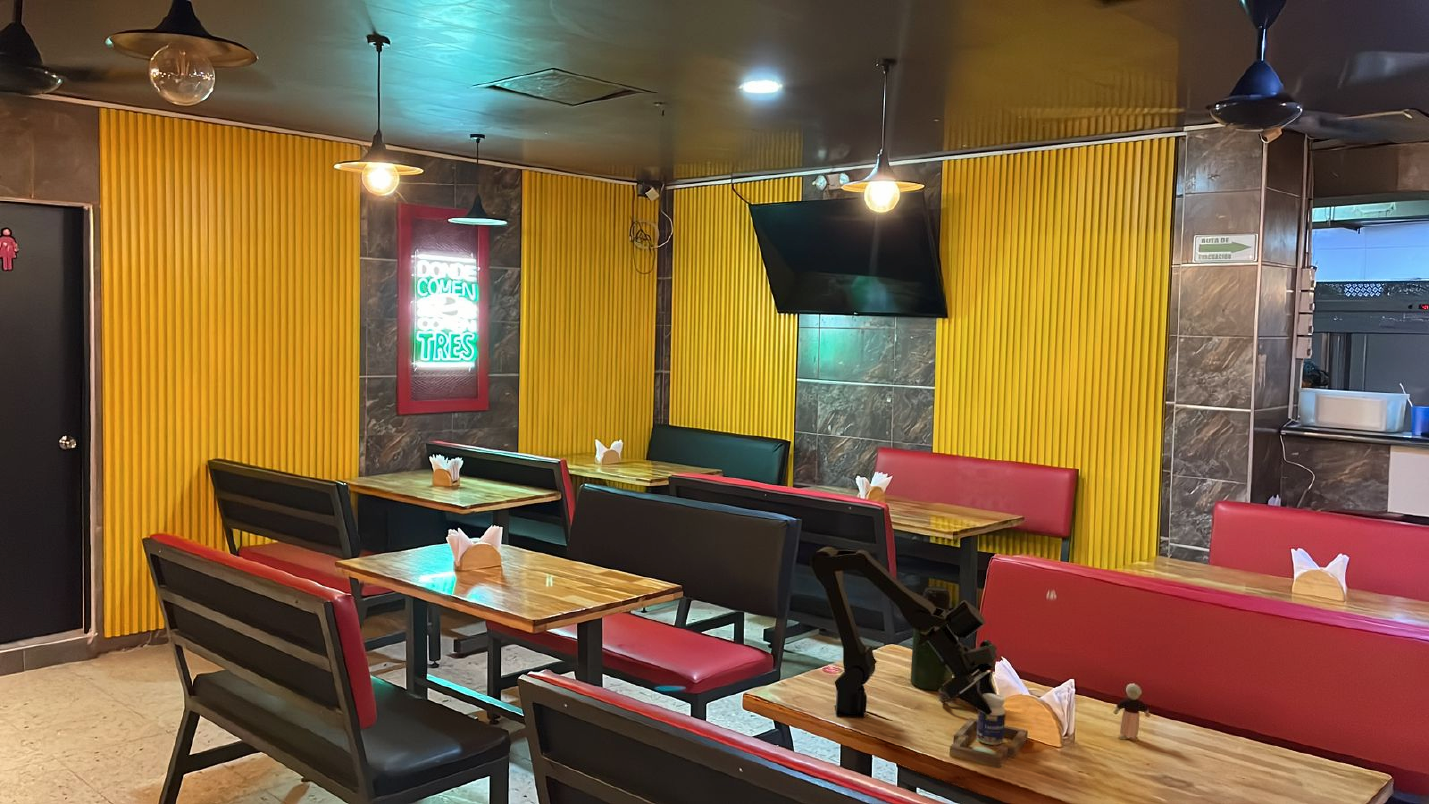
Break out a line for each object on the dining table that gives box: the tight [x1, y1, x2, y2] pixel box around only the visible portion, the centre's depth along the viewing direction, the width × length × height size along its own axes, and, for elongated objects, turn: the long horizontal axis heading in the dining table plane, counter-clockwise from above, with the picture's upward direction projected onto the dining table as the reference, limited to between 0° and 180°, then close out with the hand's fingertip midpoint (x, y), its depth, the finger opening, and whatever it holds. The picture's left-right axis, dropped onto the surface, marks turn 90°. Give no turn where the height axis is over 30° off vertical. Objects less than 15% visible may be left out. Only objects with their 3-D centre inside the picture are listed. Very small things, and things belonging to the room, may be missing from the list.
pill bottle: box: [976, 693, 1006, 746], centre depth 234 cm, size 6×6×10 cm
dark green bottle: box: [910, 585, 954, 691], centre depth 271 cm, size 10×10×25 cm
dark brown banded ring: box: [938, 679, 979, 714], centre depth 257 cm, size 12×10×8 cm
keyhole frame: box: [949, 717, 1028, 769], centre depth 232 cm, size 20×13×2 cm, turn 151°
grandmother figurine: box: [1112, 683, 1151, 742], centre depth 240 cm, size 8×4×13 cm, turn 88°
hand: (994, 709), depth 234 cm, fingers closed on pill bottle, 6 cm apart
